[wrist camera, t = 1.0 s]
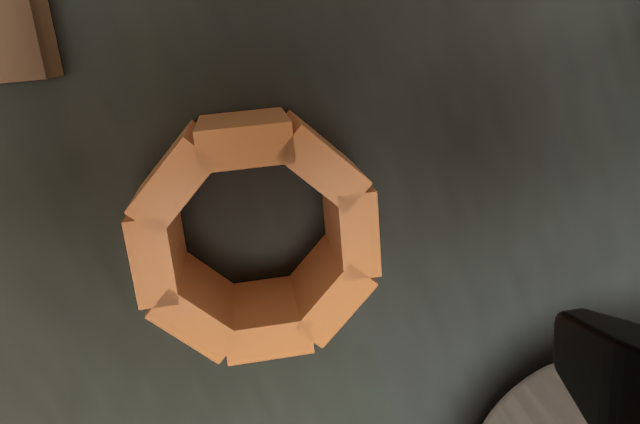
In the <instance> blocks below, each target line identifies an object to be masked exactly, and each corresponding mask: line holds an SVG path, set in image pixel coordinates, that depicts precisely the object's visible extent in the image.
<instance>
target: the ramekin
mask: <svg viewBox="0 0 640 424" xmlns="http://www.w3.org/2000/svg"><path fill="white" fill-rule="evenodd" d="M483 424H587V422H586V421H585V419H584V417H583V416H582V414H581V412H580V411H579V409H578V407H577V406H576V404H575V402H574V400H573V399H572V397H571V395H570V394H569V392H568V390H567V389H566V387H565V385H564V384H563V382H562V380H561V379H560V377H559V375H558V374H557V372H556V369H555V367H554V363H552V364H549V365H547V366H545V367H543V368H541V369H539V370H537V371H536V372H534V373H532V374H531V375H529V376H528V377H526V378H525V379H523V380H522V381H520V382H519V383H518V384H517V385H515V386H514V387H513V388H512V389H511V390H510V391H509V392H507V393H506V394H505V395H504V396H503V397H502V398H501V399H500V400H499V402H498V403H497V404H496V405H495V406H494V408H493V409H492V410H491V411H490V413H489V414H488V416H487V417H486V419H485V420H484V422H483Z"/></svg>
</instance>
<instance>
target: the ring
mask: <svg viewBox="0 0 640 424" xmlns="http://www.w3.org/2000/svg"><path fill="white" fill-rule="evenodd" d="M275 165H286V166H287V167H288V168H289V169H291V170H292V171H293V172H294V173H296V174H297V175H298V176H300V177H301V178H302V179H303V180H305V181H306V182H307V183H308V184H310V185H311V186H312V187H314V188H315V189H316V190H317V191H319V192H320V193H321V194H322V200H323V212H324V223H325V235H324V236H323V237H322V238H321V239H320V241H319V242H318V243H317V244H316V245H315V247H314V248H313V249H312V250H311V251H310V252H309V254H308V255H307V256H306V257H305V258H304V259H303V261H302V262H301V263H300V264H299V265H298V267H297V268H296V269H295V270H294V271H293V272H292V274H291V275H290V276H285V277H277V278H270V279H263V280H256V281H248V282H241V283H232V282H231V281H229V280H228V279H226V278H225V277H223V276H222V275H220V274H219V273H217V272H216V271H215V270H213V269H212V268H210V267H209V266H207V265H206V264H204V263H203V262H201V261H200V260H198V259H197V258H195V257H194V256H193V255H191V254H190V253H188V252H187V249H186V243H185V237H184V231H183V225H182V219H181V213H180V211H181V210H182V208H183V207H184V206H185V205H186V203H187V202H188V201H189V200H190V198H191V197H192V196H193V195H194V193H195V192H196V191H197V190H198V188H199V187H200V186H201V185H202V183H203V182H204V181H205V180H206V178H207V177H208V176H209V175H210V173H214V172H223V171H231V170H240V169H249V168H258V167H266V166H275ZM372 184H373V183H372V182H371V181H370V179H369V178H368V177H367V176H366V175H365V174H364V173H363V172H362V171H361V170H360V169H359V168H358V167H357V166H356V165H355V164H354V163H353V162H352V161H351V160H350V159H349V158H348V157H346V156H345V155H344V154H343V153H342V152H340V151H339V150H338V149H337V148H336V147H334V146H333V145H332V144H331V143H330V142H328V141H327V140H326V139H325V138H324V137H322V136H321V135H320V134H319V133H317V132H316V131H315V130H314V129H313V128H311V127H310V126H309V125H308V124H307V123H305V122H304V121H303V120H302V119H301V118H299V117H298V116H297V115H296V114H294V113H293V112H292V111H291V110H289V111H288V112H287V113H285V111H284V110H283V109H282V107H275V108H265V109H256V110H246V111H236V112H226V113H217V114H207V115H199V118H198V120H197V122H194V121H193V120H191V121H190V122H189V124H188V125H187V126H186V127H185V129H184V130H183V131H182V133H181V134H180V135H179V136H178V138H177V139H176V140H175V142H174V143H173V144H172V145H171V147H170V148H169V149H168V151H167V152H166V153H165V154H164V156H163V157H162V158H161V160H160V161H159V162H158V163H157V165H156V166H155V167H154V168H153V170H152V171H151V172H150V174H149V175H148V176H147V177H146V179H145V180H144V181H143V183H142V184H141V186H140V187H139V189H138V191H137V192H136V194H135V196H134V197H133V199H132V200H131V202H130V204H129V205H128V207H127V208H126V210H125V212H124V214H126V216H125V217H124V219H123V221H122V222H121V224H122V229H123V234H124V239H125V244H126V249H127V254H128V259H129V264H130V269H131V274H132V279H133V284H134V289H135V294H136V299H137V304H138V309H139V310H144V309H147V311H146V314H145V317H144V318H145V319H147V320H148V321H150V322H152V323H153V324H155V325H156V326H158V327H160V328H161V329H163V330H164V331H166V332H168V333H169V334H171V335H172V336H174V337H176V338H177V339H179V340H180V341H182V342H184V343H185V344H187V345H188V346H190V347H192V348H193V349H195V350H196V351H198V352H200V353H201V354H203V355H204V356H206V357H208V358H209V359H211V360H212V361H214V362H216V363H217V364H220V363H221V361H222V360H223V359H224V358H225V357H226V356H227V363H228V366H233V365H240V364H246V363H253V362H259V361H266V360H272V359H279V358H285V357H292V356H298V355H305V354H312V353H314V343H315V344H317V345H318V346H320V347H321V348H324V347H325V345H326V344H327V343H328V342H329V341H330V340H331V339H332V337H333V336H334V335H335V334H336V333H337V332H338V331H339V329H340V328H341V327H342V326H343V325H344V324H345V323H346V322H347V320H348V319H349V318H350V317H351V316H352V315H353V314H354V312H355V311H356V310H357V309H358V308H359V307H360V306H361V304H362V303H363V302H364V301H365V300H366V299H367V298H368V297H369V295H370V294H371V293H372V292H373V291H374V290H375V289H376V287H377V286H378V285H379V284H378V283H377V281H376V279H375V278H374V277H380V276H382V268H381V250H380V232H379V214H378V195H377V191H376V190H375V189H374V188H373V187H372Z"/></svg>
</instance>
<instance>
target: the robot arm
mask: <svg viewBox="0 0 640 424" xmlns="http://www.w3.org/2000/svg"><path fill="white" fill-rule="evenodd" d="M553 363H554V367H555V369H556V372H557V374H558V375H559V377H560V379H561V380H562V382H563V384H564V385H565V387H566V389H567V390H568V392H569V394H570V395H571V397H572V399H573V400H574V402H575V404H576V406H577V407H578V409H579V411H580V412H581V414H582V416H583V417H584V419H585V421H586V422H587V424H640V324H638V323H634V322H630V321H627V320H623V319H620V318H616V317H613V316H609V315H605V314H602V313H598V312H595V311H591V310H588V309H583V308H579V309H572V310H566V311H561V312H559V313H558V314H557V315H556V318H555V322H554V341H553Z"/></svg>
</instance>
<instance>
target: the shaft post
mask: <svg viewBox="0 0 640 424" xmlns="http://www.w3.org/2000/svg"><path fill="white" fill-rule="evenodd" d="M59 76H64V73H63V68H62V64H61V59H60V54H59V50H58V45H57V40H56V36H55V31H54V26H53V22H52V17H51V12H50V8H49V3H48V0H0V84H1V83H12V82H23V81H34V80H44V79H50V78H55V77H59Z"/></svg>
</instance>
